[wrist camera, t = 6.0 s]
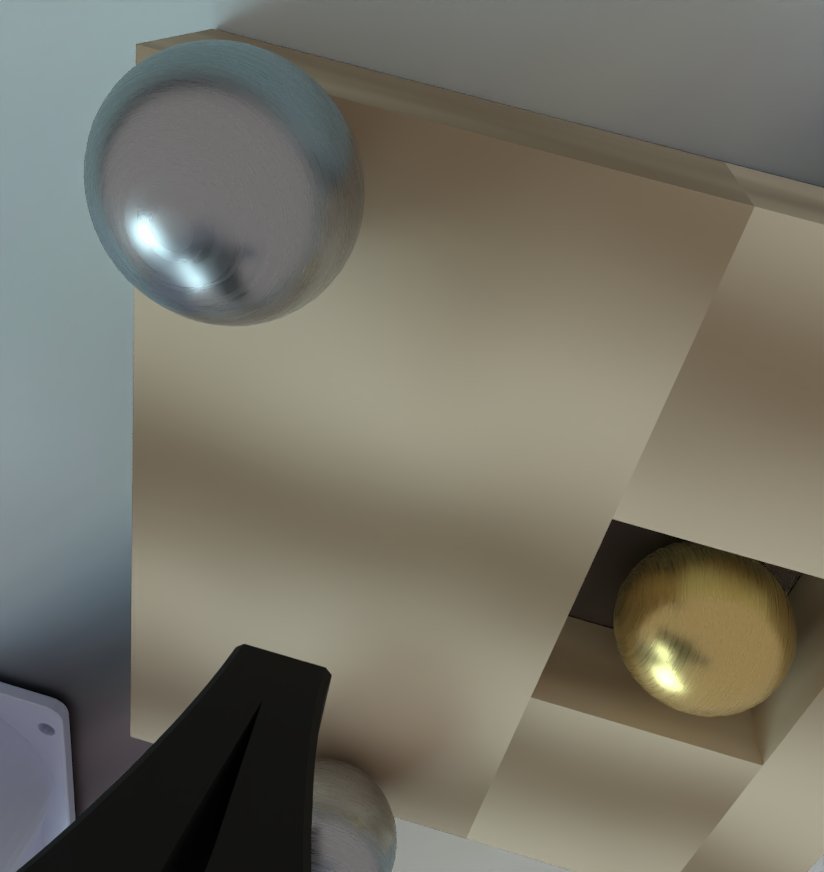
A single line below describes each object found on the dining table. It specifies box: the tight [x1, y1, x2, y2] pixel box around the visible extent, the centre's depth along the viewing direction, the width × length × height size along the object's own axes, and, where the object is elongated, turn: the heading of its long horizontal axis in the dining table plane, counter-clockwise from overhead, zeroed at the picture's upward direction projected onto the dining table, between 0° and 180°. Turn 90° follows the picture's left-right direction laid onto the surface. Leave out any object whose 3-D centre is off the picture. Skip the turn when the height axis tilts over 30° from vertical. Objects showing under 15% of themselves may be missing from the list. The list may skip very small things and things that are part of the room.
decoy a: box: [311, 758, 396, 872], centre depth 16 cm, size 3×3×3 cm
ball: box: [613, 541, 797, 717], centre depth 15 cm, size 3×3×3 cm
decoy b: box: [84, 40, 365, 326], centre depth 9 cm, size 3×3×3 cm
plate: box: [130, 29, 824, 872], centre depth 15 cm, size 15×15×2 cm
